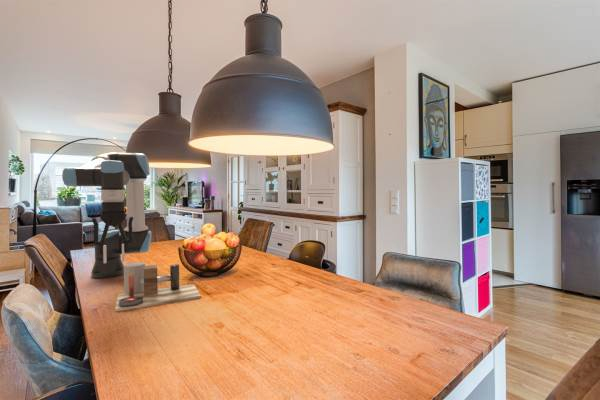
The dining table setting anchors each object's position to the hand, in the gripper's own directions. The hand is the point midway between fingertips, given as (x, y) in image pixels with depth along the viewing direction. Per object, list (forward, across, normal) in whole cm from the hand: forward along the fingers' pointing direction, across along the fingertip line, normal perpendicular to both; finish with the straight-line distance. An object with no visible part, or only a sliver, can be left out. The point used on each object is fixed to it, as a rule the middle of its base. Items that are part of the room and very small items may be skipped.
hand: (114, 261), depth 116 cm
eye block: (+17, +15, +1) cm, 23 cm away
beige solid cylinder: (+17, +6, +15) cm, 24 cm away
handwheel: (+15, +6, -3) cm, 17 cm away
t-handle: (+15, +16, +6) cm, 23 cm away
